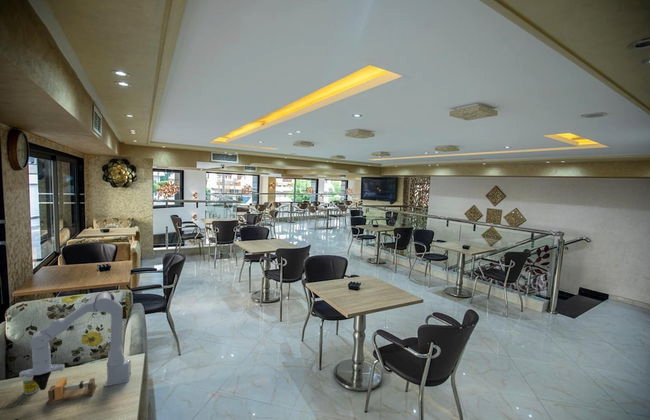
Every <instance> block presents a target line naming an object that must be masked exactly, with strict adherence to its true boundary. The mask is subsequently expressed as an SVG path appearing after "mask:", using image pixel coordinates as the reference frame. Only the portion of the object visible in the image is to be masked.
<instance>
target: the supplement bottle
mask: <svg viewBox="0 0 650 420" xmlns="http://www.w3.org/2000/svg"><path fill="white" fill-rule="evenodd" d="M33 377H34V375H29V376H23V377H22V384H23V393H24V394H25V395H32V394H34V393H36V392H38V391H40V388H39V386H38V384H37V383H36V382H35V381H34V380H33Z"/></svg>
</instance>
